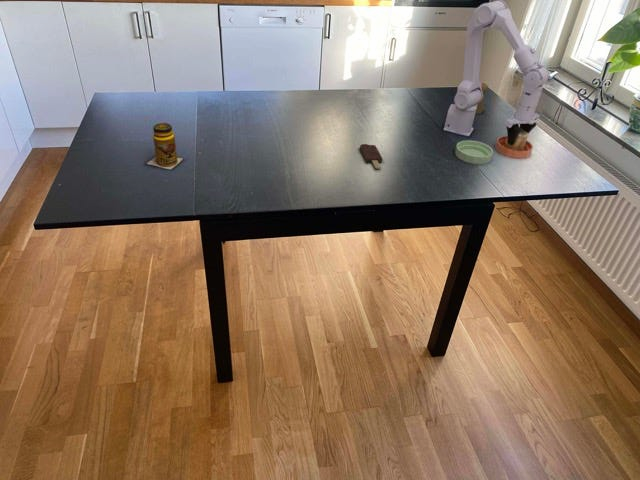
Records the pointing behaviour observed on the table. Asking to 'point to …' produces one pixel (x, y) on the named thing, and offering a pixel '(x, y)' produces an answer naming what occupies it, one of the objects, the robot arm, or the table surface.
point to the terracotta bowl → (512, 153)
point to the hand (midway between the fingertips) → (515, 142)
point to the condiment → (164, 147)
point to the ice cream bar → (371, 154)
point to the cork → (480, 105)
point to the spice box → (518, 142)
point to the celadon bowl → (473, 152)
